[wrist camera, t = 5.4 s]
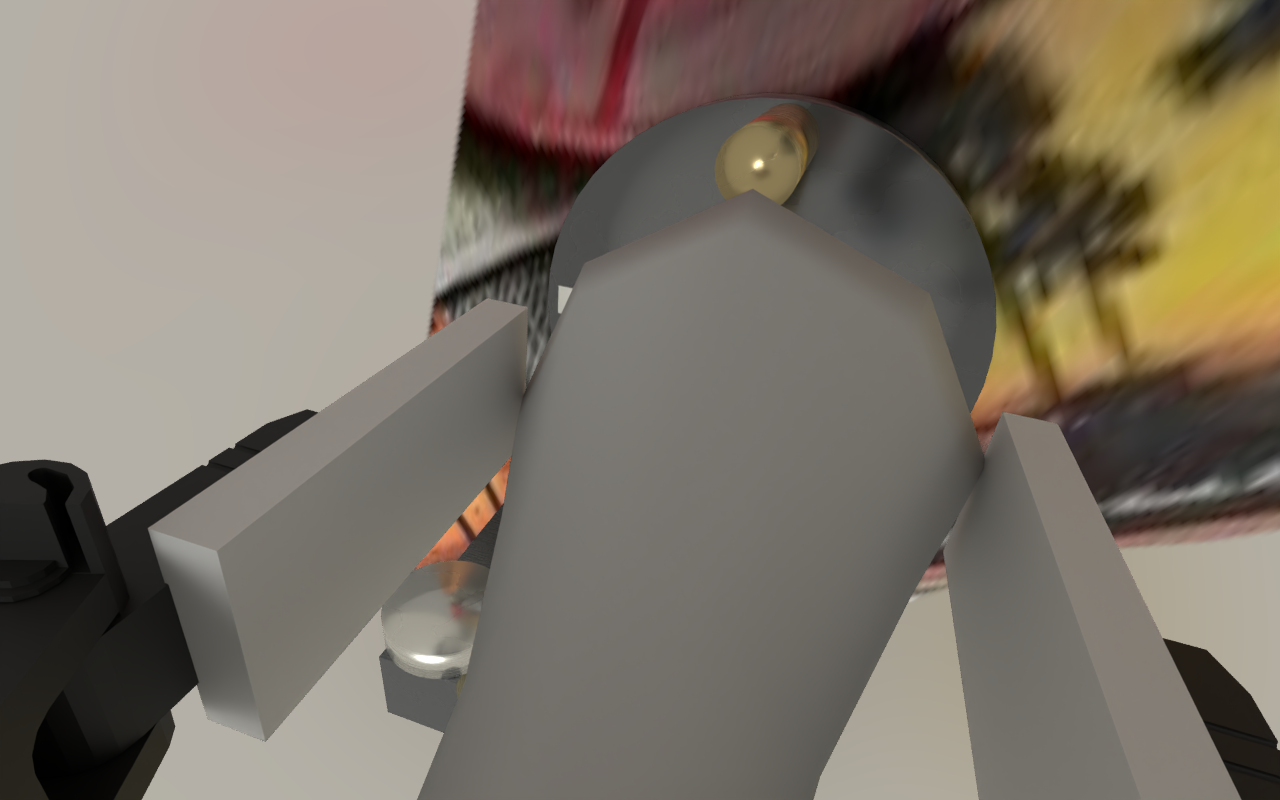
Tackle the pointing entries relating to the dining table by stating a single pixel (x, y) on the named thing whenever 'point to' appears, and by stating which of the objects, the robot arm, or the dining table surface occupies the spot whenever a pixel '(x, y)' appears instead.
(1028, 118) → the dining table surface
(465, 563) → the post
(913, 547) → the flask
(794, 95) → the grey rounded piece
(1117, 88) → the dining table surface
